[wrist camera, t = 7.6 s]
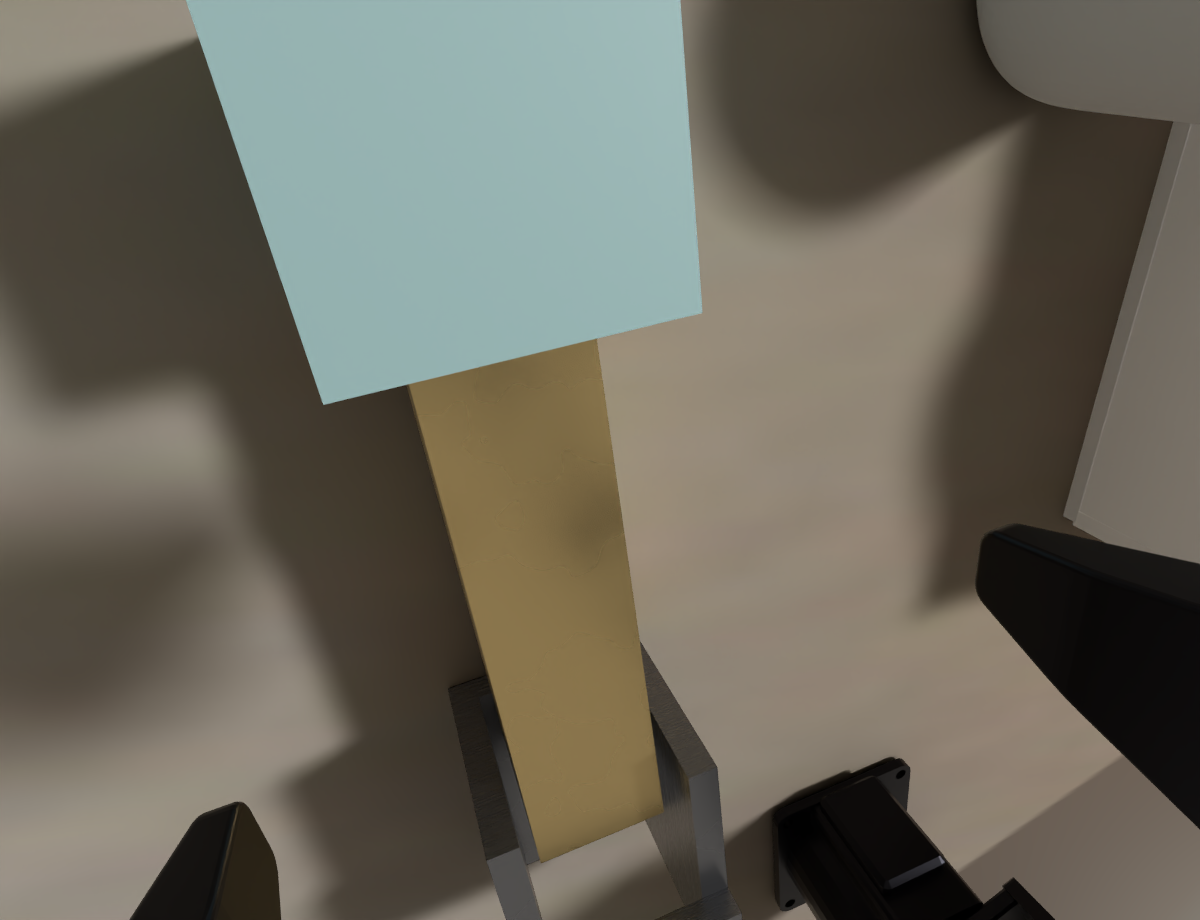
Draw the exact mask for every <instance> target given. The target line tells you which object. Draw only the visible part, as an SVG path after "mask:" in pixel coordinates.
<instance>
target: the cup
mask: <svg viewBox="0 0 1200 920" xmlns="http://www.w3.org/2000/svg"><path fill="white" fill-rule="evenodd" d="M977 13H978V21H979V27H980V32H981V35H982V39H983V42H984V45H985V48H986V50H987V53H988V55H989V57H990V59H991V61H992V63H993V64H994V66H995V67H996V69H997V70H998V72H999V73H1000V74H1001V76H1002V77H1003V78H1004V79H1005V80H1006V81H1007V82H1008V83H1009V84H1010V85H1011V86H1012V87H1014V88H1015V89H1016V90H1018V91H1020V92H1021V93H1023V94H1024V95H1026V96H1028V97H1030V98H1032V99H1035V100H1037V101H1040V102H1043V103H1046V104H1049V105H1053V106H1057V107H1062V108H1068V109H1074V110H1081V111H1089V112H1097V113H1106V114H1114V115H1123V116H1132V117H1140V118H1149V119H1157V120H1166V121H1174V122H1183V123H1191V124H1200V0H977Z"/></svg>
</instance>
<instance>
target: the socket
mask: <svg viewBox="0 0 1200 920" xmlns="http://www.w3.org/2000/svg"><path fill="white" fill-rule="evenodd" d="M186 2H187V5H188V8H189V11H190V13H191V16H192V19H193V22H194V25H195V28H196V31H197V34H198V37H199V40H200V43H201V46H202V49H203V52H204V55H205V58H206V61H207V64H208V67H209V69H210V72H211V75H212V78H213V81H214V84H215V87H216V90H217V93H218V96H219V99H220V102H221V105H222V108H223V111H224V114H225V117H226V120H227V123H228V125H229V128H230V131H231V134H232V137H233V140H234V143H235V146H236V149H237V152H238V155H239V158H240V161H241V164H242V167H243V170H244V173H245V176H246V179H247V181H248V184H249V187H250V190H251V193H252V196H253V199H254V202H255V205H256V208H257V211H258V214H259V217H260V220H261V223H262V226H263V229H264V232H265V235H266V237H267V240H268V243H269V246H270V249H271V252H272V255H273V258H274V261H275V264H276V267H277V270H278V273H279V276H280V279H281V282H282V285H283V288H284V291H285V293H286V296H287V299H288V302H289V305H290V308H291V311H292V314H293V317H294V320H295V323H296V326H297V329H298V332H299V335H300V338H301V341H302V344H303V347H304V349H305V352H306V355H307V358H308V361H309V364H310V367H311V370H312V373H313V376H314V379H315V382H316V385H317V388H318V391H319V394H320V397H321V400H322V403H323V405H325V404H329V403H333V402H337V401H342V400H346V399H350V398H354V397H358V396H362V395H366V394H370V393H374V392H379V391H383V390H387V389H391V388H395V387H399V386H403V385H407V384H412V383H416V382H420V381H424V380H428V379H432V378H436V377H440V376H444V375H449V374H453V373H457V372H461V371H465V370H469V369H473V368H477V367H482V366H486V365H490V364H494V363H498V362H502V361H506V360H510V359H515V358H519V357H523V356H527V355H531V354H535V353H539V352H543V351H547V350H552V349H556V348H560V347H564V346H568V345H572V344H576V343H580V342H585V341H589V340H593V339H597V338H601V337H605V336H609V335H613V334H617V333H622V332H626V331H630V330H634V329H638V328H642V327H646V326H650V325H655V324H659V323H663V322H667V321H671V320H675V319H679V318H683V317H687V316H692V315H696V314H700V313H702V300H701V286H700V272H699V258H698V244H697V229H696V215H695V201H694V187H693V173H692V159H691V145H690V131H689V116H688V102H687V88H686V74H685V60H684V46H683V32H682V18H681V4H680V0H186Z"/></svg>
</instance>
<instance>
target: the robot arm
mask: <svg viewBox="0 0 1200 920" xmlns="http://www.w3.org/2000/svg"><path fill="white" fill-rule="evenodd" d="M975 587H976V591H977V594H978V596H979V598H980V600H981V601H982V603H983V604H984V605H985V606H986V608H987V609H988V610H989V611H990V612H991V613H992V614H993V616H994V617H995V618H996V619H997V620H998V621H999V623H1000V624H1001V625H1002V626H1003V627H1004V628H1005V630H1006V631H1007V632H1008V633H1009V634H1010V635H1011V636H1012V638H1013V639H1014V640H1015V641H1016V642H1017V643H1018V645H1019V646H1020V647H1021V648H1022V649H1023V650H1024V652H1025V653H1026V654H1027V655H1028V656H1029V657H1030V659H1031V660H1032V661H1033V662H1034V663H1035V664H1036V665H1037V667H1038V668H1039V669H1040V670H1041V671H1042V672H1043V674H1044V675H1045V676H1046V677H1047V678H1048V679H1049V681H1050V682H1051V683H1052V684H1053V685H1054V686H1055V687H1056V688H1057V689H1058V691H1059V692H1060V693H1061V694H1062V695H1063V696H1064V697H1065V698H1066V699H1067V700H1068V701H1069V702H1070V703H1071V704H1072V705H1073V706H1074V707H1075V708H1076V709H1077V710H1078V711H1079V712H1080V713H1081V714H1082V715H1083V716H1084V717H1085V718H1086V719H1087V720H1088V721H1089V722H1090V723H1091V724H1092V725H1093V726H1094V727H1095V728H1096V729H1097V730H1098V731H1099V732H1100V733H1101V734H1102V735H1103V736H1104V737H1105V738H1106V739H1107V740H1108V741H1109V742H1110V743H1112V744H1113V745H1114V746H1115V747H1116V748H1117V749H1118V750H1119V751H1120V752H1121V753H1122V754H1123V755H1124V756H1125V757H1126V758H1127V759H1128V760H1129V761H1130V762H1131V763H1132V764H1133V765H1134V766H1135V767H1136V768H1137V769H1138V770H1139V771H1140V772H1142V774H1144V776H1145V777H1146V778H1148V779H1149V780H1150V781H1151V782H1152V783H1153V784H1154V785H1155V786H1156V787H1157V788H1158V789H1159V790H1160V791H1161V792H1162V793H1163V794H1164V795H1165V796H1166V797H1167V798H1168V799H1169V800H1170V801H1171V802H1172V803H1173V804H1174V805H1176V807H1177V808H1178V809H1179V810H1180V811H1182V812H1183V814H1185V815H1186V816H1187V817H1188V818H1189V819H1190V820H1191V821H1192V822H1193V823H1194V824H1195V825H1196V826H1197V827H1198V828H1199V829H1200V564H1199V563H1195V562H1190V561H1186V560H1181V559H1177V558H1172V557H1167V556H1163V555H1158V554H1154V553H1149V552H1145V551H1140V550H1136V549H1131V548H1127V547H1122V546H1118V545H1113V544H1108V543H1104V542H1099V541H1095V540H1090V539H1086V538H1081V537H1077V536H1072V535H1068V534H1063V533H1058V532H1054V531H1049V530H1045V529H1040V528H1036V527H1031V526H1027V525H1022V524H1008V525H1005V526H1002V527H1000V528H997V529H994V530H991V531H989V532H987V533H986V534H984V536H983V537H982V539H981V542H980V548H979V556H978V563H977V571H976V578H975ZM909 780H910V767H909V766H908V765H907V764H906V763H905V761H904V760H903V759H900V758H898V759H895V760H892V761H890V762H888V763H885V764H883V765H881V766H878V767H876V768H874V769H872V770H869V771H867V772H865V773H862V774H860V775H858V776H855V777H853V778H851V779H848V780H846V781H844V782H841V783H839V784H837V785H834V786H832V787H830V788H828V789H825V790H823V791H821V792H818V793H816V794H814V795H811V796H809V797H807V798H804V799H802V800H800V801H797V802H795V803H793V804H790V805H788V806H786V807H783V808H782V809H780V810H778V811H777V812H776V813H775V815H774V816H773V820H772V821H773V847H774V874H775V900H776V902H777V904H778V906H779V907H780V909H781V910H782V911H789V910H791V909H793V908H796V907H798V906H800V905H802V904H804V903H807V905H808V907H809V908H810V910H811V911H812V913H813V915H814V916H815V918H816V919H817V920H1055V919H1054V918H1053V917H1052V916H1051V915H1050V914H1049V913H1048V912H1047V911H1046V910H1045V909H1044V908H1043V907H1042V906H1041V905H1040V904H1039V903H1038V902H1037V901H1036V900H1035V899H1034V898H1033V897H1032V896H1031V895H1030V894H1029V893H1028V892H1027V891H1026V890H1025V889H1024V888H1023V887H1022V886H1021V884H1020V883H1019V882H1018V881H1016V880H1015V878H1012V879H1010V880H1009V881H1008V882H1007V883H1005V884H1004V885H1003V886H1002V887H1003V889H1002V890H1001V891H1000V892H999V893H997V894H996V895H995V896H994V897H992V898H991V899H990V900H989V901H987V902H986V903H985V904H983V903H982V901H981V900H980V899H979V898H978V897H977V895H976V894H975V893H974V892H973V891H972V889H971V888H970V887H969V886H968V885H967V883H966V882H965V881H964V880H963V879H962V878H961V876H960V875H959V874H958V873H957V872H956V870H955V869H954V868H953V867H952V866H951V865H950V863H949V862H948V861H947V860H946V859H945V857H944V855H943V854H942V853H941V852H940V850H939V849H938V848H937V847H936V846H935V844H934V843H933V842H932V841H931V840H930V839H929V837H928V836H927V835H926V834H925V833H924V831H923V830H922V829H921V828H920V827H919V826H918V824H917V823H916V822H915V821H914V820H913V818H912V817H911V816H910V815H909V814H908V813H907V801H908V791H909ZM130 920H281V910H280V895H279V881H278V870H277V864H276V860H275V857H274V854H273V851H272V849H271V847H270V845H269V843H268V842H267V840H266V838H265V836H264V834H263V832H262V831H261V829H260V827H259V825H258V823H257V821H256V820H255V818H254V816H253V814H252V812H251V810H250V809H249V807H248V806H247V805H246V804H245V803H243V802H233V803H231V804H228V805H225V806H222V807H220V808H217V809H214V810H211V811H208V812H206V813H203V814H201V815H200V816H198V817H197V818H196V820H195V821H194V822H193V823H192V824H191V826H190V827H189V829H188V830H187V832H186V833H185V835H184V837H183V838H182V840H181V841H180V843H179V844H178V846H177V847H176V849H175V850H174V852H173V853H172V855H171V857H170V858H169V860H168V861H167V863H166V864H165V866H164V867H163V869H162V870H161V872H160V873H159V875H158V877H157V878H156V880H155V881H154V883H153V884H152V886H151V887H150V889H149V890H148V892H147V894H146V895H145V897H144V898H143V900H142V901H141V903H140V904H139V906H138V907H137V909H136V910H135V912H134V914H133V915H132V917H131V918H130Z"/></svg>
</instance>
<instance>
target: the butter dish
mask: <svg viewBox="0 0 1200 920" xmlns="http://www.w3.org/2000/svg"><path fill="white" fill-rule="evenodd" d="M1063 516H1064V517H1066V518H1068V519H1069V520H1071V521H1073V525H1074V526H1076V527H1077V528H1079V529H1081V530H1083V531H1085V532H1087V533H1088V534H1090V535H1092V536H1094V537H1096V538H1098V539H1100V540H1101V541H1103V542H1105V543H1108V544H1113V545H1118V546H1122V547H1127V548H1131V549H1136V550H1140V551H1145V552H1149V553H1154V554H1158V555H1163V556H1167V557H1172V558H1177V559H1181V560H1186V561H1190V562H1195V563H1199V564H1200V124H1191V123H1183V122H1174V121H1173V125H1172V128H1171V132H1170V135H1169V139H1168V143H1167V146H1166V150H1165V153H1164V157H1163V160H1162V164H1161V168H1160V171H1159V175H1158V178H1157V182H1156V185H1155V189H1154V192H1153V196H1152V200H1151V203H1150V207H1149V210H1148V214H1147V217H1146V221H1145V225H1144V228H1143V232H1142V235H1141V239H1140V242H1139V246H1138V250H1137V253H1136V257H1135V260H1134V264H1133V267H1132V271H1131V275H1130V278H1129V282H1128V285H1127V289H1126V292H1125V296H1124V300H1123V303H1122V307H1121V310H1120V314H1119V317H1118V321H1117V325H1116V328H1115V332H1114V335H1113V339H1112V342H1111V346H1110V350H1109V353H1108V357H1107V360H1106V364H1105V367H1104V371H1103V375H1102V378H1101V382H1100V385H1099V389H1098V392H1097V396H1096V400H1095V403H1094V407H1093V410H1092V414H1091V417H1090V421H1089V425H1088V428H1087V432H1086V435H1085V439H1084V442H1083V446H1082V450H1081V453H1080V457H1079V460H1078V464H1077V467H1076V471H1075V475H1074V478H1073V482H1072V485H1071V489H1070V492H1069V496H1068V500H1067V503H1066V507H1065V510H1064V514H1063Z"/></svg>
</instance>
